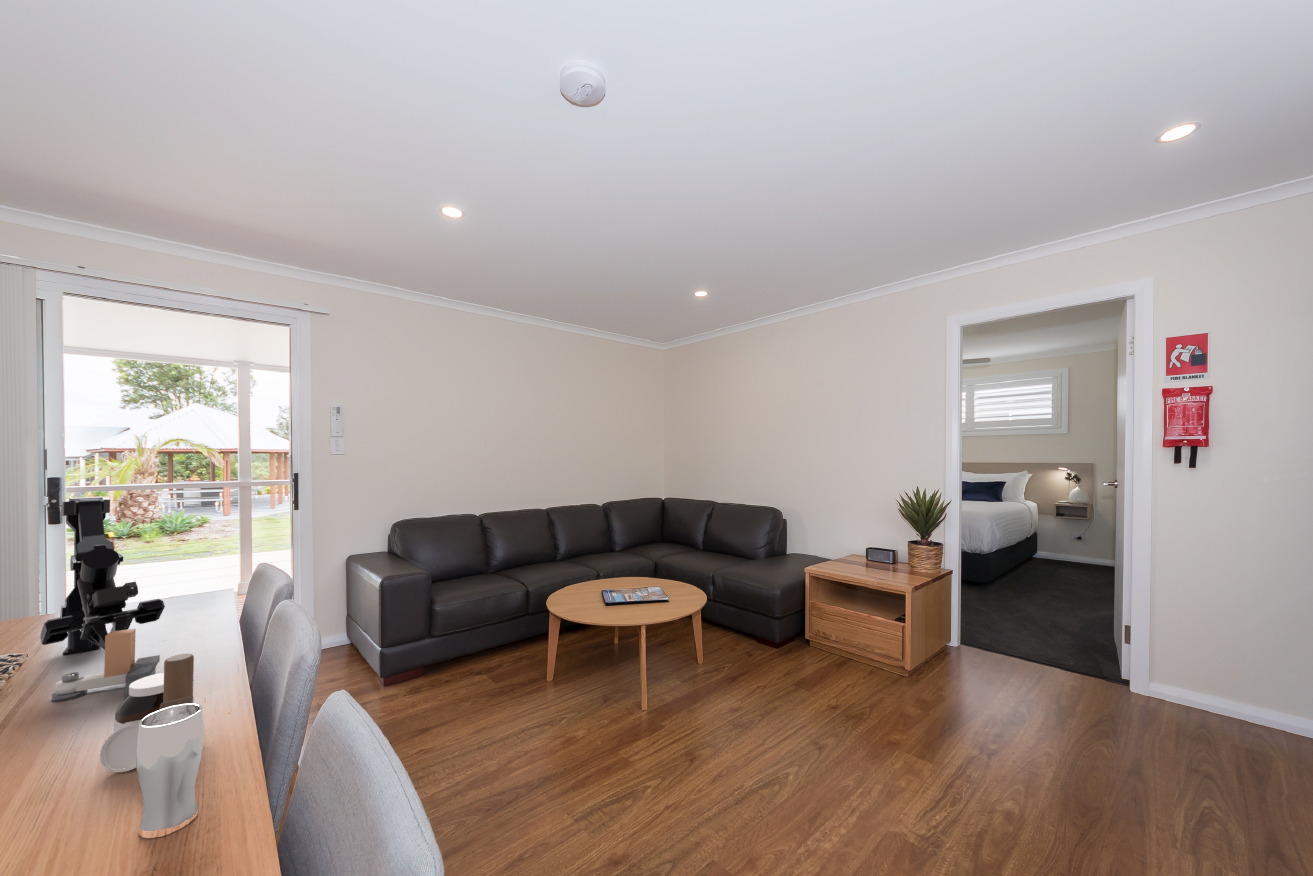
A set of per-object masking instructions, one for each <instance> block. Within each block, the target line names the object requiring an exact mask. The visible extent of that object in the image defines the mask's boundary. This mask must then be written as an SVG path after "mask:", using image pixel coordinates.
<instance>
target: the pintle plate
mask: <svg viewBox="0 0 1313 876" xmlns="http://www.w3.org/2000/svg"><path fill="white" fill-rule="evenodd" d="M79 677H80V673H79V672H71V673H66V674H64V675H62V676H61V680H62V682H70V681H74V680H77V679H78V678H79ZM88 690H89V689H88ZM88 690H82V691H76V692H73V693H69V694H63V695H57V694H56V691H55V692H54V693H52V694H51V702H54V703H55V702H56V703H57V702H65V701H70V700H74V699H77V698H80V697H83V696H85V695H87V693H88Z"/></svg>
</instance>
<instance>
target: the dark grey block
mask: <svg viewBox="0 0 1313 876" xmlns="http://www.w3.org/2000/svg"><path fill="white" fill-rule="evenodd" d="M160 656H161V655H160V654H158V655H157V654H156V655H152V656H150V655H149V656H147V657H139V658H137V660H136V661H135V664H134V665H133V666H132V668H131V669H130V671H129V672H128V673H127V675H126V682H125V683H124V685H125V688H124V690H125V691H124V700H125V699H126V698H127V697H128V696H129V685H130V684H131V683H133V682H134V681H136V680H138V679H141V678H144V677H147V676H151V675H155V668H156V669H157V666H158V665H159V663H160V661H161V660H160Z"/></svg>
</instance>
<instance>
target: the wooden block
mask: <svg viewBox="0 0 1313 876" xmlns="http://www.w3.org/2000/svg"><path fill="white" fill-rule="evenodd" d="M194 660H195V656H194V654H193V653H180V654H176V655H173V656H170V657H167V658H166V659H165V660H164V663H163V664H164V665H163V673H164V695H163V703H161V704H160V710H161V709H164V708H167V707H171V706H176V705H181V704H193V697H194V696H193V695H194V671H195V670H194V668H195V667H194V665H195V664H194V662H195V661H194Z"/></svg>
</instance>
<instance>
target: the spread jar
mask: <svg viewBox="0 0 1313 876" xmlns="http://www.w3.org/2000/svg"><path fill="white" fill-rule="evenodd" d="M163 695H164V672H160V673H156V674H155V675H151V676H147V677H144V678H141V679H138V680H136V681H134V682H133V683H131V684H130V685H129V696H128V697H127V698H126V699H125V698H124V700H123V701H122V702H121V703H120V705H119V706H118V708H117V709H116V712H115V714H114V719H113V720H114V722H113V733H111V734H110V736H108V737H107V738H106V740H105V741H104V743H103V744H102V746H101V749H100V753H99V761H100V763H101V766H102V767H103V768H104V769H106V770H107V771H110V772H113V773H123V772H128V771H132V770H134V769H137V768H136V744H137V736H138V729H139V722H140V720H141V719H143V718H144V717H145V716H147V715H149V714H151V713H153V712H156V711H158V710H160V704H161V703H163ZM193 704H195V698H194V696H193ZM123 768H125V769H123ZM124 770H125V771H124Z"/></svg>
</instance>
